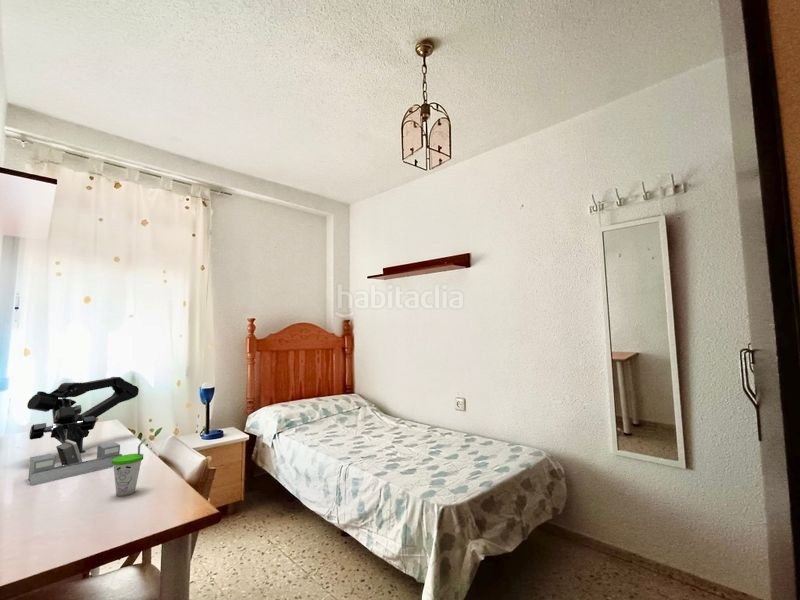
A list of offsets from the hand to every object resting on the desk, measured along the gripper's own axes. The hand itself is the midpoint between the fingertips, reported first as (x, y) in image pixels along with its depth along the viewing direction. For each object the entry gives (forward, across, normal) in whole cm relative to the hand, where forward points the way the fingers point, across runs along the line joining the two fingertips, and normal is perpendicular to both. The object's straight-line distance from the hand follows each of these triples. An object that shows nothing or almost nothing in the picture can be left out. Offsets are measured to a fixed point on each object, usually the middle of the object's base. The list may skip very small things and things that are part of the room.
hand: (66, 445), depth 140 cm
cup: (+42, +6, -33) cm, 54 cm away
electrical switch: (+9, 0, +1) cm, 9 cm away
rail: (+18, +1, -9) cm, 20 cm away
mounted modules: (+15, +1, -6) cm, 16 cm away
